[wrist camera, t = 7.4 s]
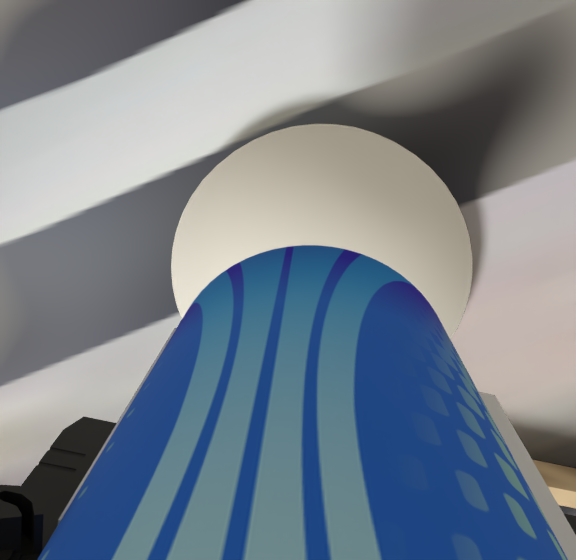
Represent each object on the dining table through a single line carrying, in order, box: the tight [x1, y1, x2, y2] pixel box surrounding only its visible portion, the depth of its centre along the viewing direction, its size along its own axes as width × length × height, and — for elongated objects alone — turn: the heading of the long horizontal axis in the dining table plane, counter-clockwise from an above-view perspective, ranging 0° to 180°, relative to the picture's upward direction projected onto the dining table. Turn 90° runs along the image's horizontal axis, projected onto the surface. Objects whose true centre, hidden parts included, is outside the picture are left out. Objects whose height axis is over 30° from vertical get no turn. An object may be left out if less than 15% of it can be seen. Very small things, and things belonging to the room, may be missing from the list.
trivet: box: [171, 124, 472, 340], centre depth 24 cm, size 14×14×1 cm
